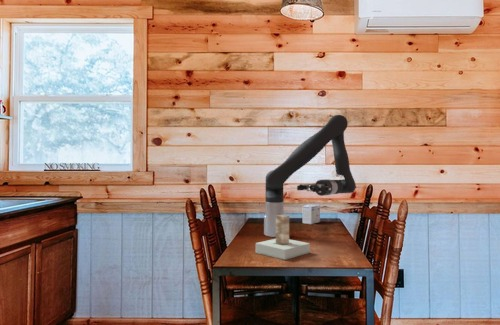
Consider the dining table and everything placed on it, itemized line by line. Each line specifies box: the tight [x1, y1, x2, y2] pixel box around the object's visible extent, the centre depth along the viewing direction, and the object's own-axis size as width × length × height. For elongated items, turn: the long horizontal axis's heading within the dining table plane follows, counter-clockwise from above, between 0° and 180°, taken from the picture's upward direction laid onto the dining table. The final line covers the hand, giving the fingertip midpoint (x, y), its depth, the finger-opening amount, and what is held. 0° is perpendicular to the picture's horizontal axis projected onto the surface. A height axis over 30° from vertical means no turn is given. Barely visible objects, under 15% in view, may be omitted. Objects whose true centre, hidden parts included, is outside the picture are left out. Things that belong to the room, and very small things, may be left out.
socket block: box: [254, 238, 311, 261], centre depth 156 cm, size 16×16×4 cm
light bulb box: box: [301, 203, 321, 225], centre depth 230 cm, size 11×7×11 cm, turn 141°
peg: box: [275, 214, 290, 246], centre depth 156 cm, size 4×4×15 cm
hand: (305, 188), depth 167 cm, fingers open, 8 cm apart
